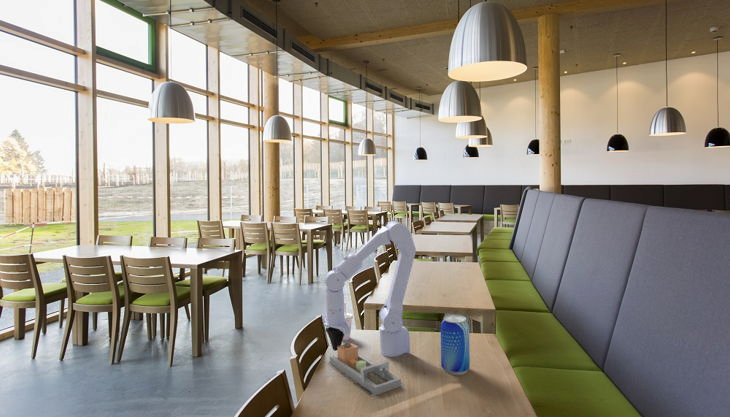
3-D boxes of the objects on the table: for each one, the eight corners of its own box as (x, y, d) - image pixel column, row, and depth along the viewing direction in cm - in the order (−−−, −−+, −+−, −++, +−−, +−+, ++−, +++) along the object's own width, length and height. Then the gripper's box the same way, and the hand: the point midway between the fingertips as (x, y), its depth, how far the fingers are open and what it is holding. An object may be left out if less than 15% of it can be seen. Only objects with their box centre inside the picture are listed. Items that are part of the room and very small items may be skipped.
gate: (386, 380, 126) (386, 360, 126) (389, 382, 125) (388, 362, 124) (360, 389, 121) (360, 368, 121) (363, 391, 120) (363, 370, 120)
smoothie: (351, 345, 153) (350, 306, 152) (333, 344, 154) (332, 305, 153) (355, 338, 159) (354, 301, 158) (338, 337, 160) (337, 300, 159)
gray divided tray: (354, 357, 142) (354, 348, 142) (404, 388, 121) (404, 377, 121) (324, 366, 136) (324, 356, 136) (371, 401, 115) (371, 389, 115)
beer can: (474, 369, 132) (474, 317, 131) (460, 379, 126) (459, 325, 124) (450, 361, 137) (450, 312, 136) (435, 371, 131) (435, 319, 130)
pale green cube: (362, 369, 131) (362, 359, 131) (368, 372, 129) (368, 363, 128) (354, 372, 129) (354, 362, 129) (359, 375, 127) (359, 365, 127)
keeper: (351, 359, 138) (351, 340, 138) (362, 366, 133) (362, 347, 132) (337, 363, 136) (337, 344, 135) (348, 370, 130) (348, 351, 130)
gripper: (313, 305, 144) (315, 345, 145) (335, 316, 132) (337, 360, 133) (332, 301, 148) (333, 340, 149) (355, 312, 135) (356, 354, 137)
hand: (336, 349), depth 141 cm, fingers closed
